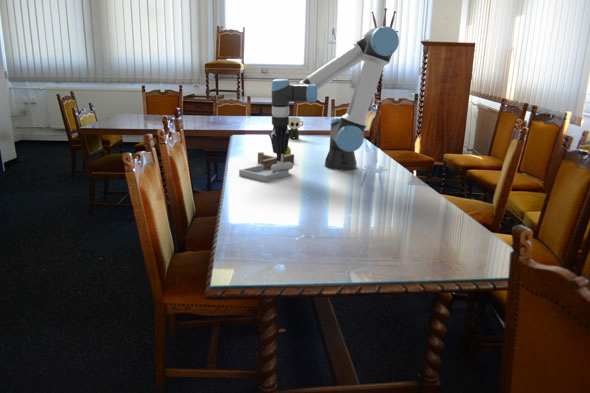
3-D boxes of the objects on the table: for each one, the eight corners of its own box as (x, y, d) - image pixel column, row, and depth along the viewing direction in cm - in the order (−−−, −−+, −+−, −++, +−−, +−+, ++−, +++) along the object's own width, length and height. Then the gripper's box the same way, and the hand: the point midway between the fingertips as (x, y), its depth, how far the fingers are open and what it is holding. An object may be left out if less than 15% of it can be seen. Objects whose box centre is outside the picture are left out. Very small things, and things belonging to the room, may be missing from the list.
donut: (291, 161, 215) (293, 160, 205) (292, 169, 215) (295, 168, 205) (269, 165, 214) (270, 164, 204) (270, 173, 214) (272, 172, 204)
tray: (288, 175, 207) (288, 170, 207) (265, 182, 196) (266, 176, 195) (262, 169, 216) (262, 164, 215) (239, 175, 204) (239, 169, 203)
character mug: (285, 139, 297) (286, 118, 293) (284, 137, 304) (285, 116, 300) (302, 139, 298) (303, 118, 294) (301, 137, 304) (302, 117, 301)
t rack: (293, 162, 233) (294, 152, 232) (264, 169, 216) (264, 159, 215) (274, 158, 240) (274, 149, 239) (244, 165, 223) (244, 155, 222)
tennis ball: (278, 160, 238) (279, 146, 236) (275, 157, 244) (275, 143, 242) (292, 159, 239) (292, 146, 237) (288, 156, 246) (289, 143, 244)
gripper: (282, 112, 215) (282, 163, 223) (264, 116, 205) (264, 169, 214) (296, 114, 210) (295, 166, 219) (277, 118, 201) (277, 172, 209)
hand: (280, 167), depth 216 cm, fingers closed
